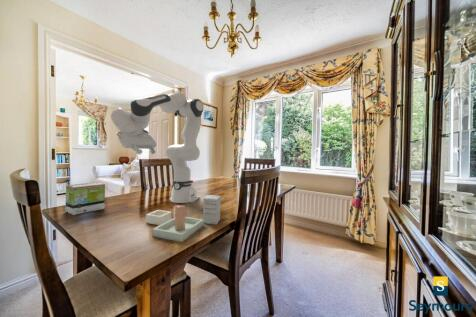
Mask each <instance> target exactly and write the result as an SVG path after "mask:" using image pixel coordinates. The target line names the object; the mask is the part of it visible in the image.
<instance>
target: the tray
mask: <svg viewBox="0 0 476 317" xmlns="http://www.w3.org/2000/svg"><path fill="white" fill-rule="evenodd" d="M204 225H205V223H204V220H203V218H202V219H201V218H197V217H196V218H194V217H189V216H185V229H184V230H181V231H176V230H175V217H173V218H171V220H169V221H167V222H165V223H163V224H161V225H157V226H156V227H154V228H152V237H155V238H161V239H165V240H170V241H175V242H180V243H183V242H184V241H185V240H187V239H188V238H189V237H191V236H192V235H194V234H196V232H197V231H198V230H200V229H202V227H204Z"/></svg>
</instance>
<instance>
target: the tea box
mask: <svg viewBox="0 0 476 317" xmlns="http://www.w3.org/2000/svg"><path fill="white" fill-rule="evenodd" d="M105 201H106V184H105V183H101V182H96V181H95V182H87V183H86V182H85V183H75V184H74V183H73V184H66V185H65V207H64V208H65V210H64V211H65V212H66V213H67V212H68V213H67V214H70V215H72V216H76V215H80V214H85V213H91V212H94V211H100V210H104V209H105V206H106V205H105V203H106V202H105Z"/></svg>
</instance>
